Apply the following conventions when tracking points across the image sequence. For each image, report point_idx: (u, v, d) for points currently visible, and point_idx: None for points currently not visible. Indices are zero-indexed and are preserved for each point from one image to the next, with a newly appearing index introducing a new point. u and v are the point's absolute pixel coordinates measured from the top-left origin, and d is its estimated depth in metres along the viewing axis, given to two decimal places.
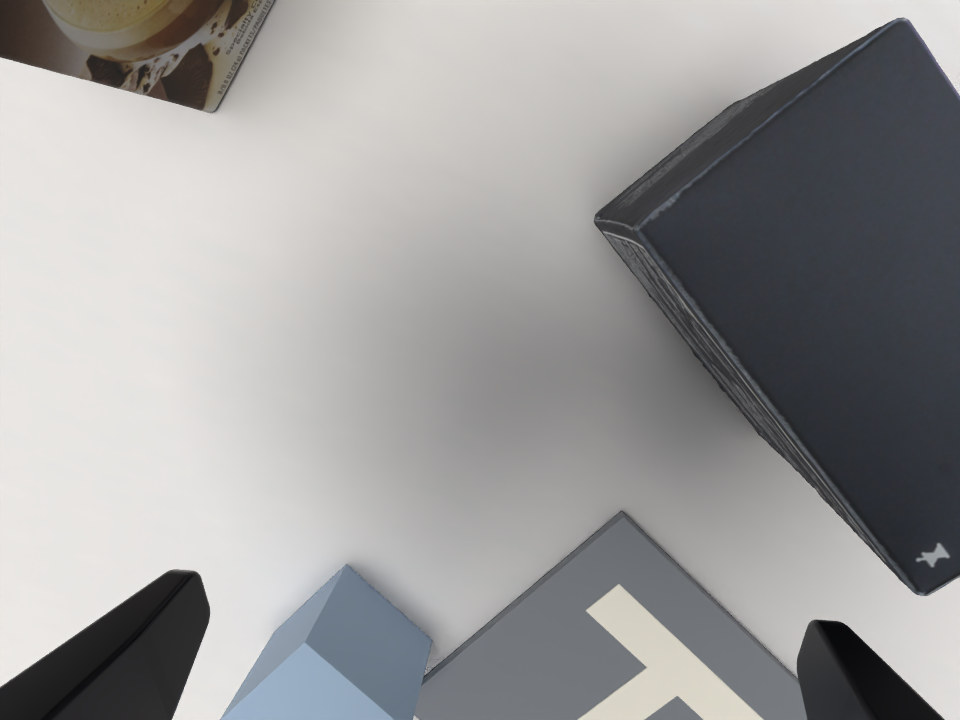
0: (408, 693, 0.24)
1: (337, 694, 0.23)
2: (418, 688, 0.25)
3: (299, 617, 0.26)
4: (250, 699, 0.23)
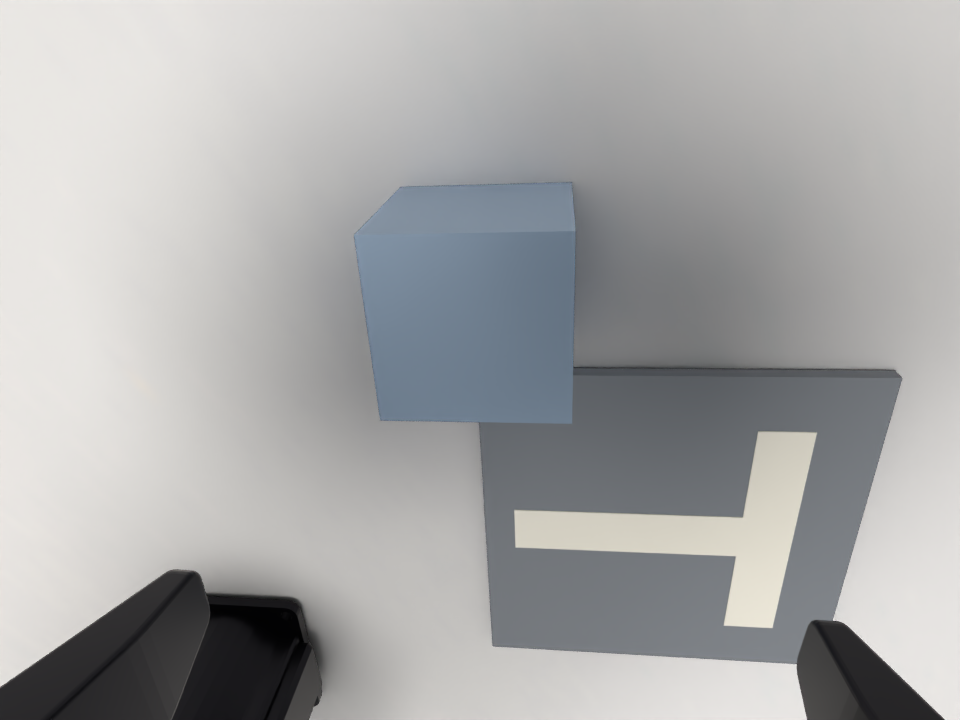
0: None
1: (541, 323, 0.15)
2: None
3: (483, 195, 0.17)
4: (424, 242, 0.15)
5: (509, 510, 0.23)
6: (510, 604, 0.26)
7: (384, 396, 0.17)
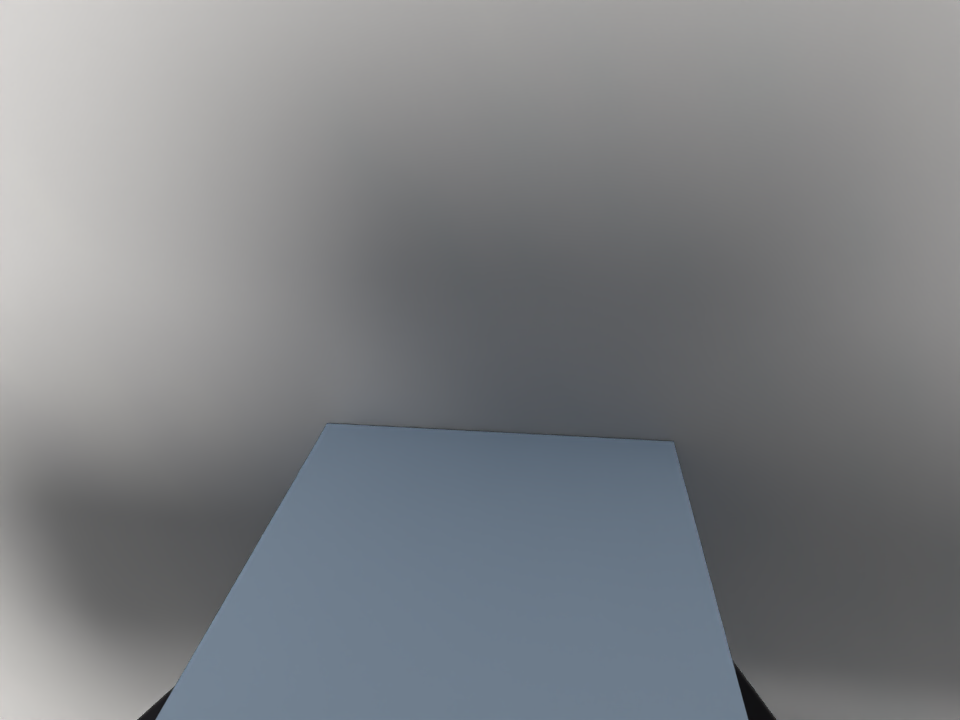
0: None
1: None
2: None
3: (493, 496, 0.08)
4: None
5: None
6: None
7: None
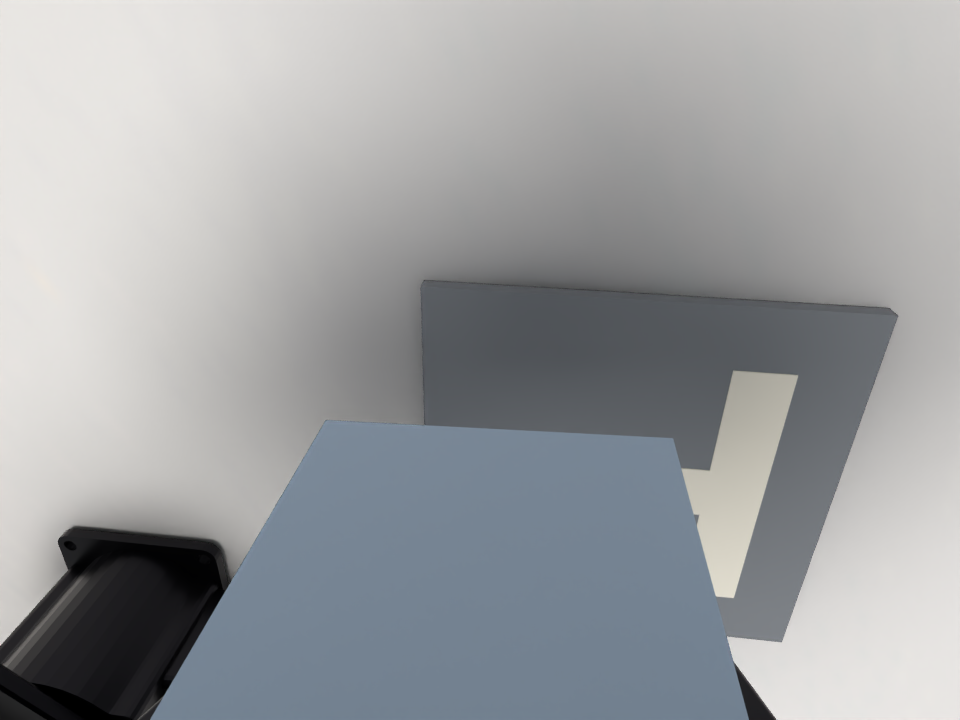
0: None
1: None
2: None
3: (492, 493, 0.08)
4: None
5: None
6: None
7: None
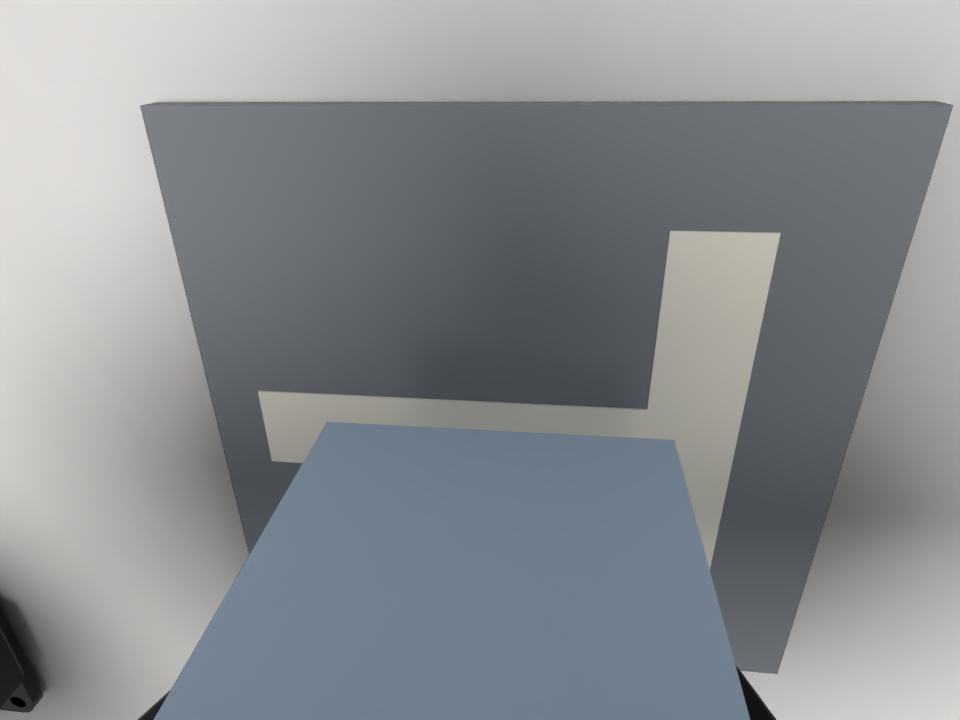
0: None
1: None
2: None
3: (493, 495, 0.08)
4: None
5: (251, 391, 0.14)
6: None
7: None
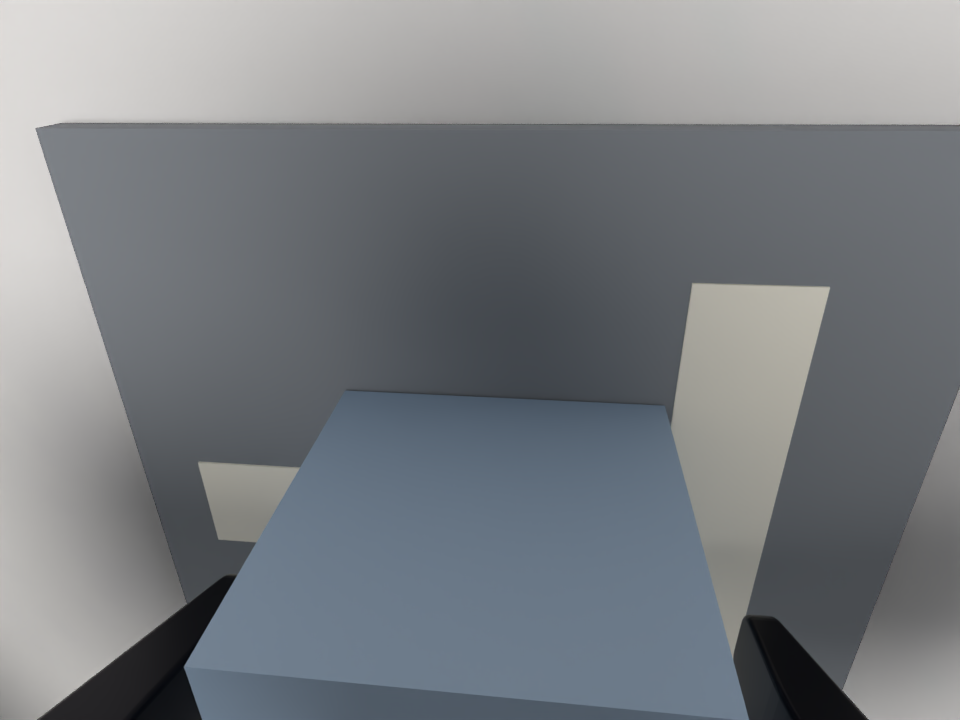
0: None
1: None
2: None
3: (499, 452, 0.09)
4: (359, 697, 0.06)
5: (190, 462, 0.11)
6: None
7: None
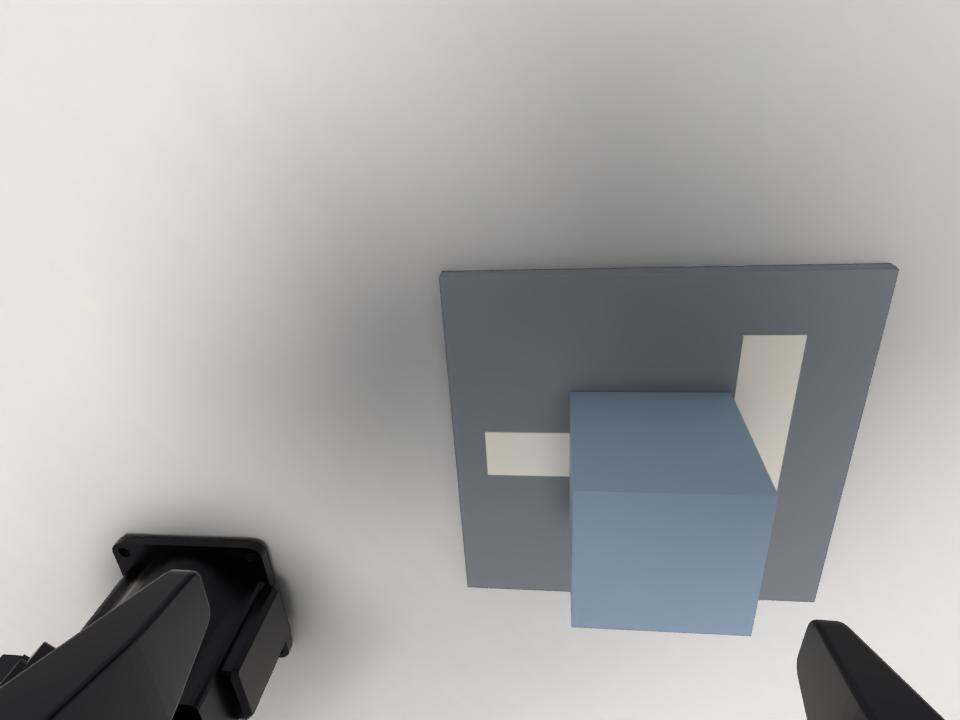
0: None
1: (735, 561, 0.17)
2: None
3: (658, 416, 0.19)
4: (637, 498, 0.16)
5: (480, 432, 0.22)
6: (484, 539, 0.24)
7: (578, 609, 0.18)
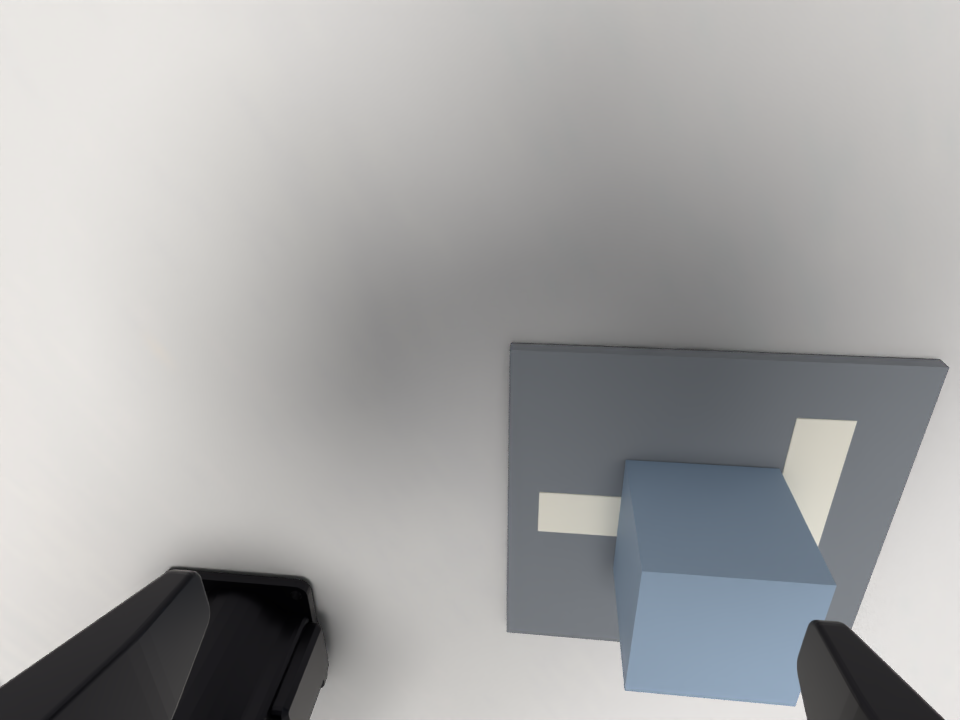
0: None
1: (788, 640, 0.18)
2: None
3: (713, 491, 0.20)
4: (703, 581, 0.17)
5: (534, 492, 0.23)
6: (528, 589, 0.25)
7: (633, 675, 0.19)
